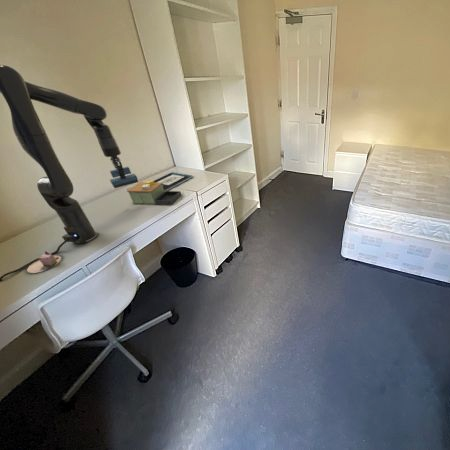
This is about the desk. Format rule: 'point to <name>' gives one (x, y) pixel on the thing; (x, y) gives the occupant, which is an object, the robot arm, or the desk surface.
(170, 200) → the tray
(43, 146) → the robot arm
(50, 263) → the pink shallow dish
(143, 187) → the scrap white
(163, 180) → the sketchbook
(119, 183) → the brush
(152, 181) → the scrap yellow
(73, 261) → the desk surface
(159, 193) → the cabinet
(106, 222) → the desk surface
